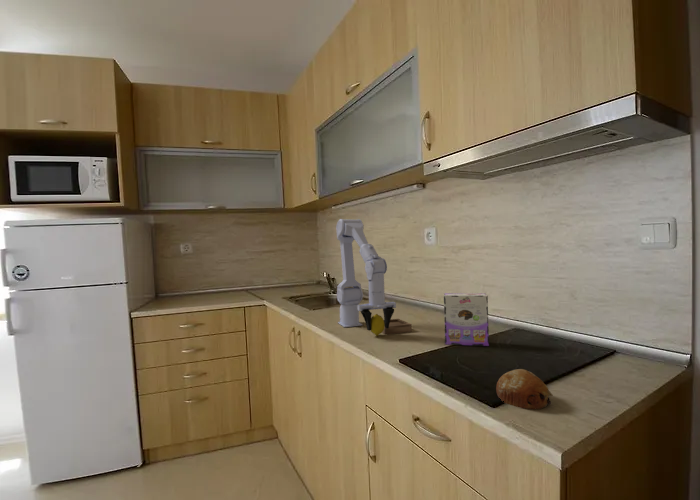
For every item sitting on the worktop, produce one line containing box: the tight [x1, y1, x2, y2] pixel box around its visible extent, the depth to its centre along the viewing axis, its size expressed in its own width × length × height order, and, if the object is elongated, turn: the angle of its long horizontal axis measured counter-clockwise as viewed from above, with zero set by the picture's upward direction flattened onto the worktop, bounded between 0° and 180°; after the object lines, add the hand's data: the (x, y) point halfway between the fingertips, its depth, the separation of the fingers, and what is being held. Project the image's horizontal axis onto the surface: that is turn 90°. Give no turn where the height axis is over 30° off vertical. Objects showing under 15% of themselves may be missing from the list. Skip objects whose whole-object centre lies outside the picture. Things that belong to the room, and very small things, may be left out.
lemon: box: [370, 313, 384, 337], centre depth 131 cm, size 6×6×8 cm
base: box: [381, 318, 413, 335], centre depth 140 cm, size 11×11×3 cm
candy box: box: [443, 292, 490, 347], centre depth 119 cm, size 14×6×16 cm, turn 74°
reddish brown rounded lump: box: [495, 368, 553, 410], centre depth 76 cm, size 10×10×8 cm
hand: (377, 328), depth 132 cm, fingers open, 6 cm apart
